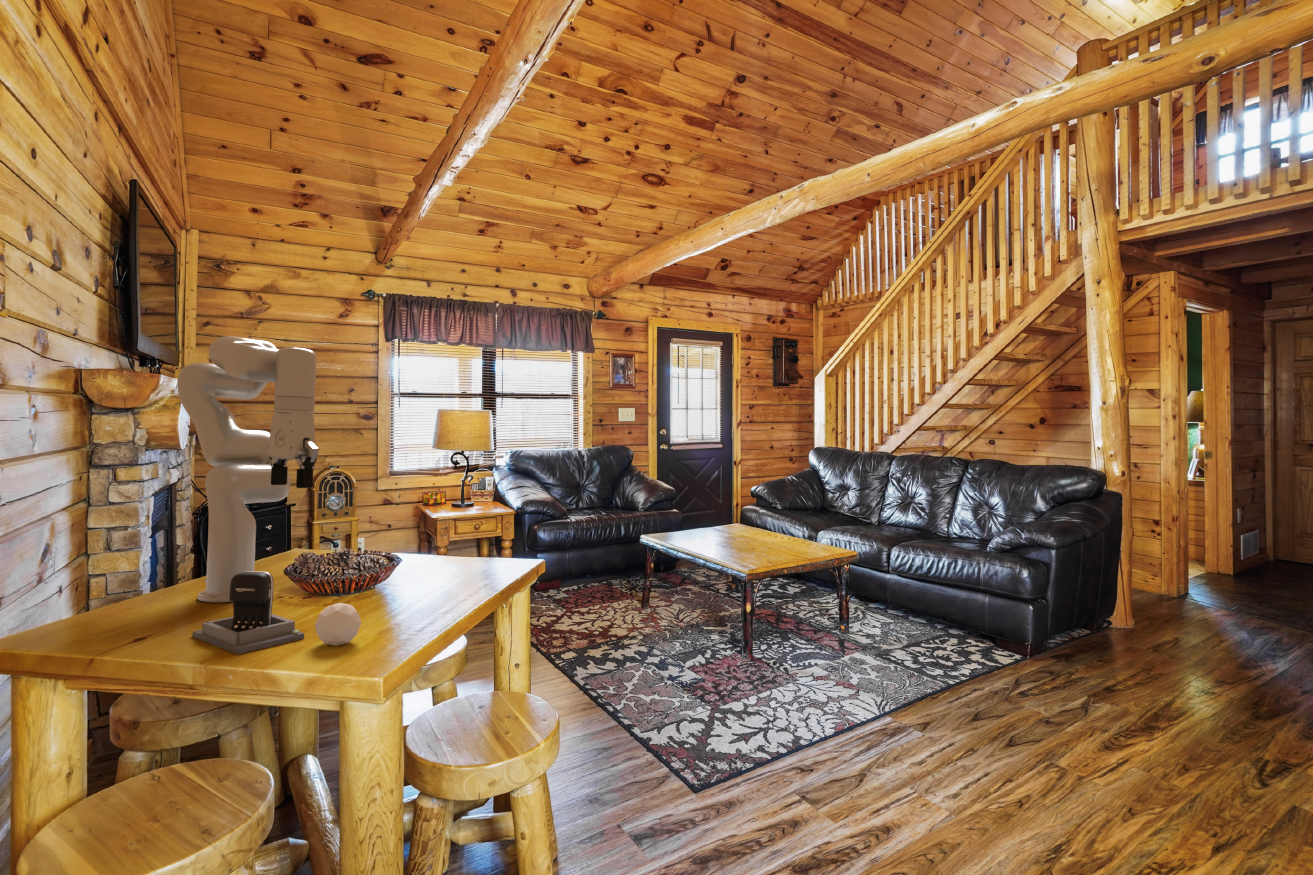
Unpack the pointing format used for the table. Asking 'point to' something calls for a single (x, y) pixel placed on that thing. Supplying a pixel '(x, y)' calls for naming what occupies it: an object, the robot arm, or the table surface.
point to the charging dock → (248, 635)
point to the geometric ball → (338, 624)
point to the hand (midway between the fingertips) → (291, 486)
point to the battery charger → (251, 600)
